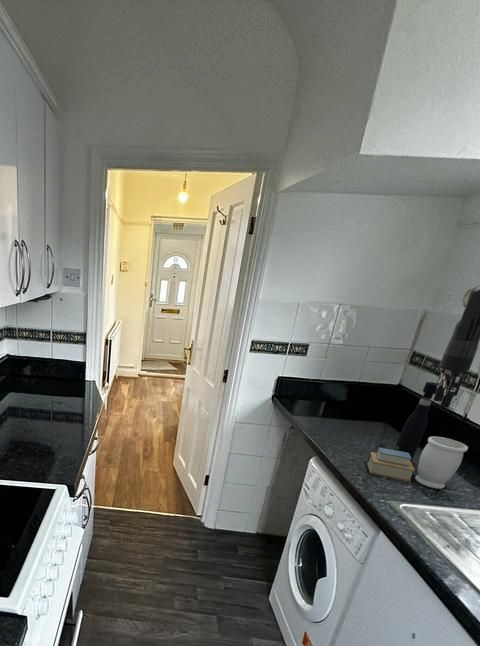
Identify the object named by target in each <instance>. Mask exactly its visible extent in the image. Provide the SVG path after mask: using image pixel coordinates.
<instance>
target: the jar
mask: <svg viewBox="0 0 480 646" xmlns="http://www.w3.org/2000/svg"><path fill="white" fill-rule="evenodd" d="M468 449H469V447H468V445H466V444H465V443H463V442H461V441H458V440H455V439H452V438H448V437H442V436H435V435H433V436H429V437H428V438H427V444H425V447H424V448H423V449H422V452H421V453H420V456H419V460H418V461H419V462H418V464H417V475H415V476H414V480H416V482H417V483H419V484H421V485H423V486H426V487H428V488H432V489H444V488H445V487H446V483H447V482H448V481H449V480H450V479H452V477H453V476H454V475H455V473H456V472H457V471H458V469H459V468H460V466H461V464H462V461H463V458H464V453H466V452H467V451H468Z"/></svg>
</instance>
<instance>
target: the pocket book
mask: <svg viewBox="0 0 480 646" xmlns="http://www.w3.org/2000/svg"><path fill="white" fill-rule="evenodd" d="M375 453H376V456H377V459H378V460H379V461H384V462H389V463H394V464H399V465H404V466H409V465H408V463H409V461H410V459H412V458H411V457H410V455H409V453H407V452H402V451H396V450H394V449H392V448H391V449H390V448H387V447H386V448H385V447H381V446H379V447H378V448H377V450H376V452H375ZM412 460H413V459H412Z"/></svg>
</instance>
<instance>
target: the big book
mask: <svg viewBox="0 0 480 646" xmlns="http://www.w3.org/2000/svg"><path fill="white" fill-rule="evenodd" d="M376 453H377V452H374V451H370V453H369V455H368V458H367V461H366V464H367V468H368V472H369V474H371V475H376V476H380V477H386V478H392V479H396V480H400V481H405V482H409V483H410V482H411V481H412V480H411V478H412V476H413V474H414V472H415V471H416V469H415V467H414V465H413V463H412V462H411V461H409V463H408V465H409V466H404V465H399V464H394V463H389V462H384V461H379V460H378V459H377V456H376Z"/></svg>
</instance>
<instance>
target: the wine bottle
mask: <svg viewBox="0 0 480 646" xmlns="http://www.w3.org/2000/svg"><path fill="white" fill-rule="evenodd" d="M436 383H437V382H432V381H426V382H425V385H424V387H423V389H422V392H423V396H422V398H420V400H419V402H418V403H417V404H416V407H415V409H414V411H413V412H412V413H411V414H410V415H409V416H408V417H407V419H406V420H405V422H404V424H403V427H402V429H401V431H400V434H399V436H398V439H397V441H396V444H395V446H394V449H393V450H396V451H402V452H407V453H409V455H410V457H411V458H412V459H410V461H411V463H412V462H413V459H414V457H415V454H416V452H417V450H418V448H419V445H420V444H421V441H422V439H423V436H424V434H425V432H426V429H427V426H428V420H429V419H428V417H429V416H428V413H429V411H430V409H431V403H432V399H433V397H434V395H435V394H436V391H437V386H436Z"/></svg>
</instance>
